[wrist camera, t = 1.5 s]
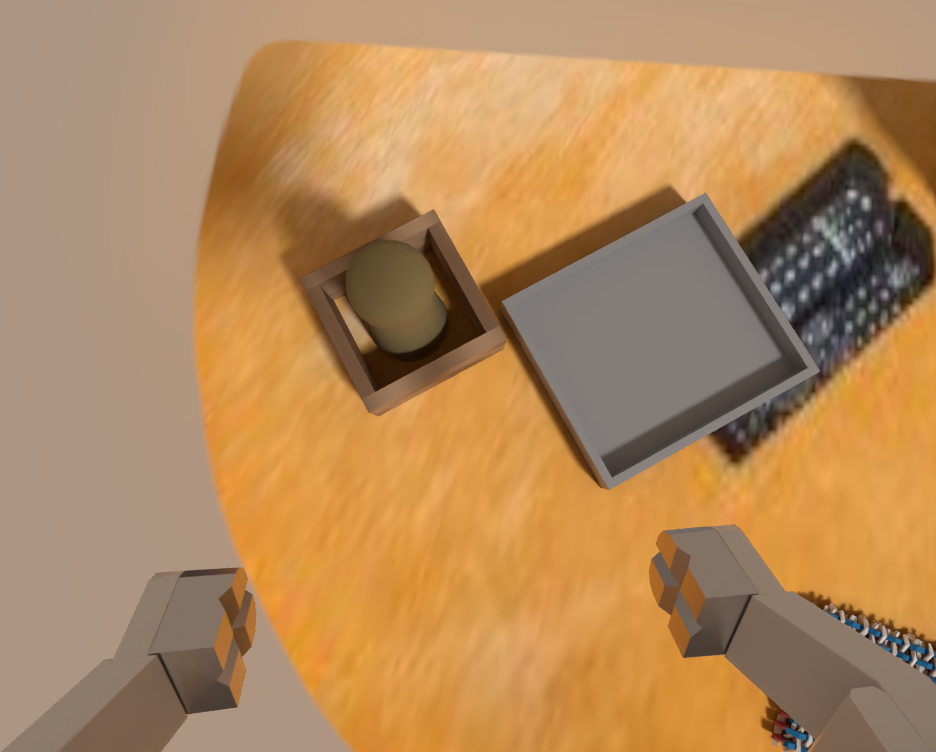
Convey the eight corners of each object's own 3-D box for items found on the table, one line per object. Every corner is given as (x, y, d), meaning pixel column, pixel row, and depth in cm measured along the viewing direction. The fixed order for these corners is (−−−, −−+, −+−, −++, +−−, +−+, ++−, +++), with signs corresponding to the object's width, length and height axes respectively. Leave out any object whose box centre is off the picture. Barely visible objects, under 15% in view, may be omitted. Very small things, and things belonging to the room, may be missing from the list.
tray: (692, 207, 42) (705, 192, 40) (798, 376, 40) (820, 371, 38) (500, 309, 41) (501, 301, 39) (600, 487, 39) (609, 489, 37)
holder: (437, 232, 42) (433, 209, 38) (503, 349, 41) (506, 338, 37) (315, 295, 41) (299, 278, 37) (378, 416, 40) (368, 412, 36)
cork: (375, 278, 42) (341, 217, 31) (454, 288, 41) (447, 231, 31) (363, 355, 41) (322, 320, 30) (442, 366, 41) (431, 335, 30)
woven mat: (799, 590, 39) (817, 598, 37) (946, 645, 38) (973, 656, 36) (758, 738, 37) (775, 755, 35) (910, 797, 37) (935, 818, 35)
